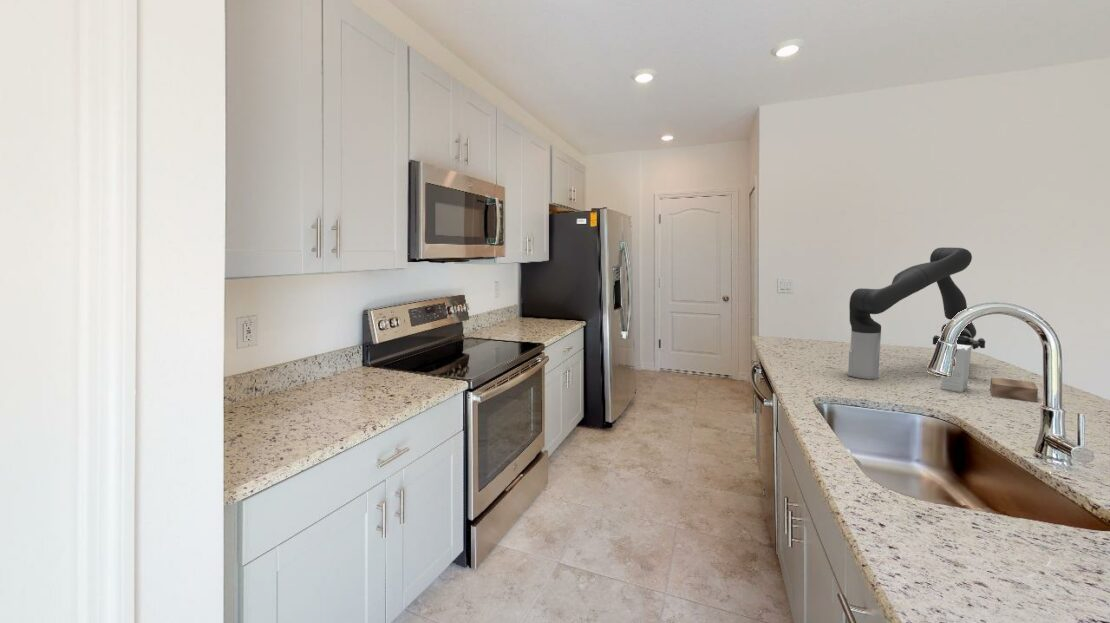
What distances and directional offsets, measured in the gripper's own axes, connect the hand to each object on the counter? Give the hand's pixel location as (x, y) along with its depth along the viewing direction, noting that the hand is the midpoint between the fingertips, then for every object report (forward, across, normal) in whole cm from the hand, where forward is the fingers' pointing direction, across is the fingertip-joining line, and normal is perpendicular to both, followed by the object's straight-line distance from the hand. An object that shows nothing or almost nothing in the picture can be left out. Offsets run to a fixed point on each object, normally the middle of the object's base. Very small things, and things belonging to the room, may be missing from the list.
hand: (958, 345), depth 161 cm
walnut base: (+11, +14, +13) cm, 22 cm away
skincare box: (+12, 0, +13) cm, 18 cm away
